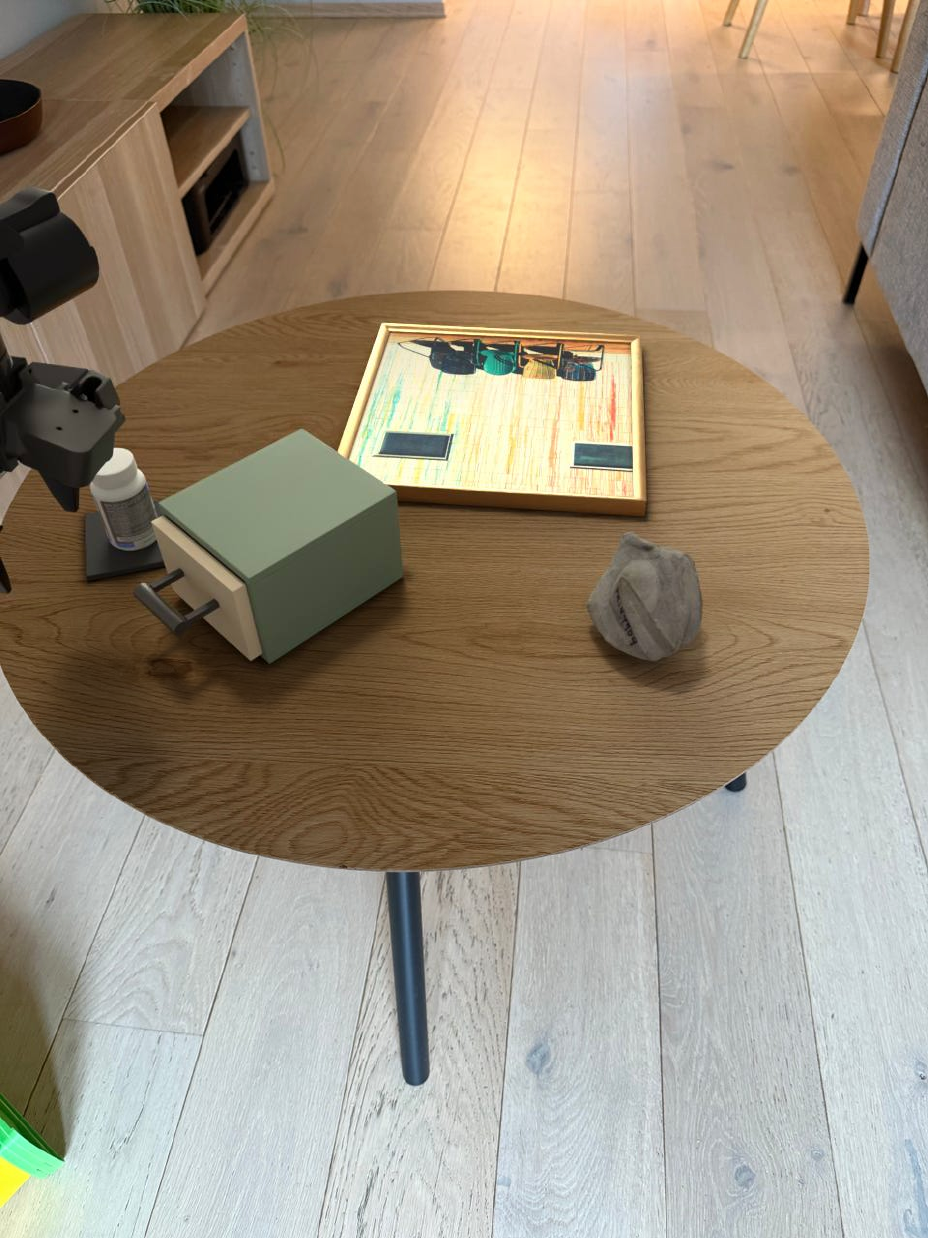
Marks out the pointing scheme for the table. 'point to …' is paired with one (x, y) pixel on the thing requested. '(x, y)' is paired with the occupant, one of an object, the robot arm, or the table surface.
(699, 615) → the fossil
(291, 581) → the cabinet
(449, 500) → the picture frame
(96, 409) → the robot arm
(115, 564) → the coaster
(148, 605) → the drawer
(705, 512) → the table surface
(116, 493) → the pill bottle
